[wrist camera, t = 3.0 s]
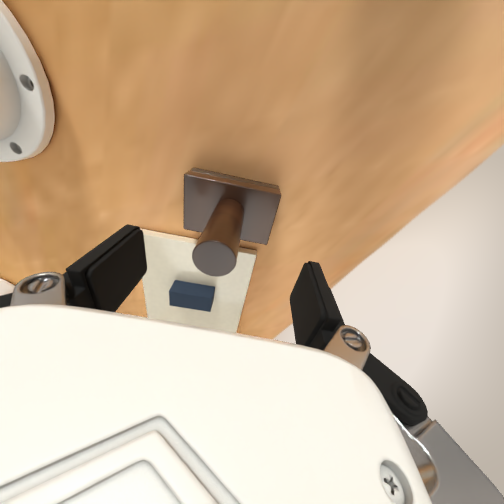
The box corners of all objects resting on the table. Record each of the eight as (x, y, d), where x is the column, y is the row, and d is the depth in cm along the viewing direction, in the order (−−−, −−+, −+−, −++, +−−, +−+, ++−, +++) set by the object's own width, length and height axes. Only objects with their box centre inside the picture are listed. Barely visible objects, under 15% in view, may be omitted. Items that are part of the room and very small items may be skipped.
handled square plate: (191, 217, 21) (147, 279, 12) (193, 167, 18) (138, 205, 10) (266, 232, 21) (270, 300, 13) (278, 185, 18) (293, 236, 10)
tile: (153, 335, 32) (150, 340, 32) (140, 228, 21) (135, 232, 21) (231, 346, 34) (231, 352, 33) (256, 250, 23) (256, 255, 22)
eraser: (175, 293, 26) (169, 305, 24) (174, 279, 24) (168, 291, 22) (213, 300, 26) (210, 312, 24) (215, 286, 25) (212, 298, 23)
